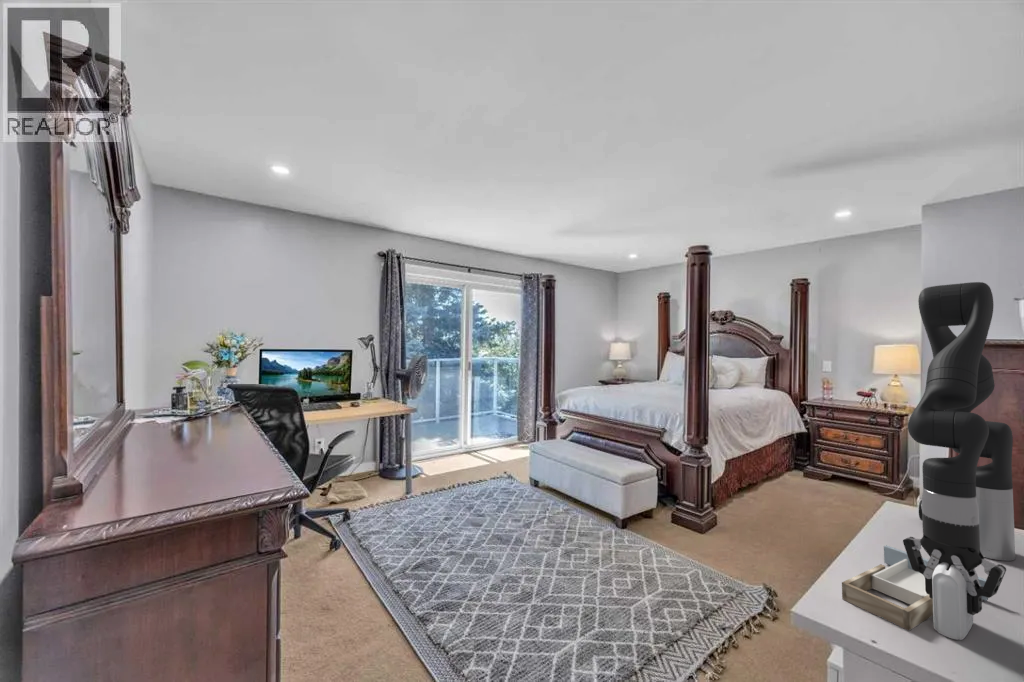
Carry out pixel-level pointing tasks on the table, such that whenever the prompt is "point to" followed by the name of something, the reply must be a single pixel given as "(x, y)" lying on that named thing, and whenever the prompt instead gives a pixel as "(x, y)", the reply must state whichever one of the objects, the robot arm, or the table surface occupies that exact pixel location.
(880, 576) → the tray
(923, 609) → the dock housing
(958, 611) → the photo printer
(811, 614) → the table surface
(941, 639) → the table surface
